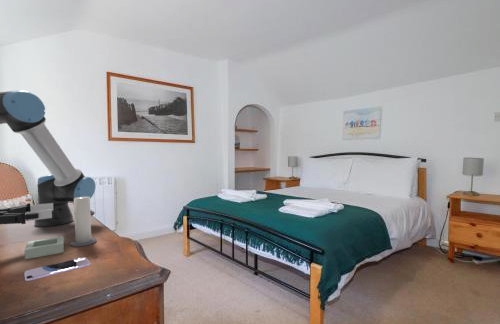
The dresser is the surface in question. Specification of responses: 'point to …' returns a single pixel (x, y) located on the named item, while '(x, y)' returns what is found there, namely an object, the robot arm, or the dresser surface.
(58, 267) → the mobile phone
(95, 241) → the coaster
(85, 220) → the grey tall block
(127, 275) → the dresser surface
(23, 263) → the dresser surface
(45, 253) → the holder
